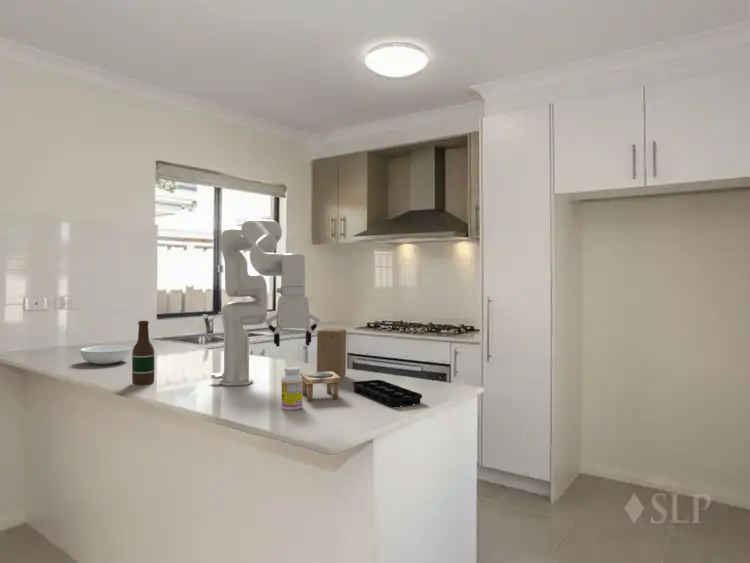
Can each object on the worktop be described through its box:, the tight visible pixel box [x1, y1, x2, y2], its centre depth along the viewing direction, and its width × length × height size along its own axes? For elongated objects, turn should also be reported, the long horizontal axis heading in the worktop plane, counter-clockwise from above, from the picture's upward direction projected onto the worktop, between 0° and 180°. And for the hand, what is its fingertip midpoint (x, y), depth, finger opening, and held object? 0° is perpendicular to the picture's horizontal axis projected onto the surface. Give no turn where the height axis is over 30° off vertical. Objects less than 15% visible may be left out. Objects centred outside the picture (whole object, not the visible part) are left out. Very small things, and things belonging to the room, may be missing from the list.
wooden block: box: [316, 327, 347, 379], centre depth 219 cm, size 10×10×20 cm
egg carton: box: [352, 379, 423, 408], centre depth 186 cm, size 18×30×4 cm, turn 43°
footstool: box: [299, 371, 342, 402], centre depth 186 cm, size 12×12×8 cm
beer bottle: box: [131, 320, 155, 386], centre depth 204 cm, size 8×8×24 cm
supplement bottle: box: [281, 366, 303, 411], centre depth 170 cm, size 7×7×13 cm
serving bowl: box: [79, 345, 132, 366], centre depth 247 cm, size 21×21×7 cm
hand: (292, 345), depth 170 cm, fingers open, 9 cm apart
